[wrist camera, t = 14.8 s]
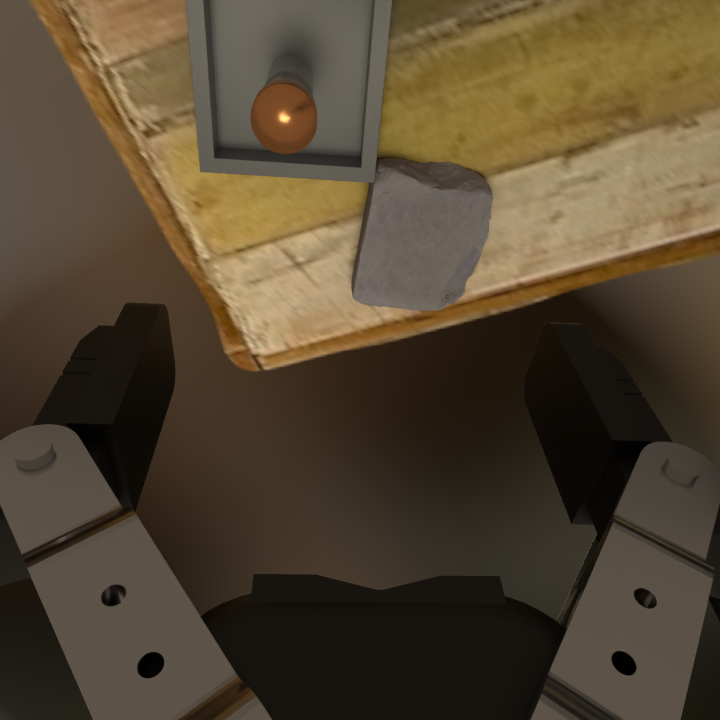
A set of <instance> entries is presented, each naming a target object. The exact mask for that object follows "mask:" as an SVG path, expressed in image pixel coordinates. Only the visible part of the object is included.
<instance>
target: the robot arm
mask: <svg viewBox="0 0 720 720" xmlns="http://www.w3.org/2000/svg"><path fill="white" fill-rule="evenodd" d="M70 358H71V360H70V361H68V363H67V365H66V366H65V368H64V370H63V375H62V376H60V377H59V379H58V381H57V383H56V384H55V386H54V388H53V390H52V391H51V394H50V395H49V397H48V399H47V400H46V403H45V404H44V406H43V408H42V409H41V411H40V413H39V415H38V417H37V418H36V420H35V422H34V424H33V425H32V426H31V427H28V428H24V429H21V430H19V431H17V432H14V433H13V434H11V435H9V436H7V437H6V438H4V439H3V440H1V441H0V586H1V585H4V584H8V583H11V582H16V581H19V580H23V579H26V578H30V577H31V578H32V580H33V583H34V585H35V587H36V589H37V592H38V594H39V596H40V599H41V601H42V603H43V605H44V608H45V610H46V612H47V615H48V617H49V619H50V622H51V624H52V626H53V628H54V631H55V633H56V635H57V637H58V640H59V642H60V645H61V646H62V649H63V651H64V653H65V656H66V658H67V661H68V663H69V665H70V667H71V670H72V672H73V674H74V676H75V679H76V681H77V683H78V686H79V688H80V690H81V693H82V695H83V697H84V700H85V702H86V704H87V706H88V709H89V711H90V713H91V716H92V717H93V720H680V719H681V715H682V710H683V706H684V702H685V697H686V693H687V689H688V685H689V681H690V676H691V672H692V668H693V663H694V659H695V655H696V650H697V646H698V642H699V638H700V633H701V629H702V625H703V620H704V616H705V611H706V607H707V603H708V599H709V601H710V603H711V605H712V607H713V609H714V611H715V613H716V615H717V617H718V619H719V622H720V473H719V471H718V470H717V469H716V467H715V466H714V465H713V464H712V463H711V462H710V461H709V460H708V459H706V458H705V457H704V456H702V455H701V454H699V453H698V452H696V451H694V450H692V449H690V448H688V447H685V446H683V445H680V444H676V443H673V442H672V440H671V439H670V437H669V436H668V434H667V433H666V431H665V429H664V428H663V426H662V425H661V423H660V421H659V420H658V418H657V417H656V415H655V413H654V412H653V411H652V409H651V407H650V405H649V404H648V402H647V401H646V399H645V397H642V393H641V391H640V390H639V388H638V386H637V385H636V383H633V378H632V377H631V375H630V374H629V372H628V370H627V369H626V367H625V366H624V364H623V363H622V362H621V361H620V360H619V359H617V358H616V357H615V356H614V355H612V354H611V353H610V352H609V351H608V350H606V349H605V348H600V347H599V348H598V347H596V345H595V343H594V342H593V340H592V338H591V337H590V335H589V333H588V332H587V330H586V328H585V327H584V326H583V325H582V324H572V323H550V322H549V323H548V322H547V323H545V324H544V325H543V327H542V329H541V331H540V334H539V337H538V340H537V343H536V346H535V349H534V352H533V355H532V358H531V361H530V364H529V367H528V370H527V373H526V377H525V381H524V400H525V405H526V407H527V410H528V412H529V415H530V418H531V420H532V423H533V426H534V428H535V430H536V433H537V436H538V438H539V441H540V444H541V446H542V449H543V451H544V454H545V456H546V459H547V462H548V464H549V467H550V470H551V472H552V475H553V477H554V480H555V482H556V485H557V488H558V490H559V493H560V496H561V498H562V501H563V503H564V506H565V508H566V511H567V514H568V516H569V519H570V521H571V524H594V526H595V529H596V531H597V535H596V537H595V539H594V541H593V542H592V544H591V546H590V549H589V551H588V553H587V556H586V558H585V560H584V562H583V564H582V567H581V569H580V571H579V573H578V575H577V578H576V580H575V582H574V584H573V586H572V589H571V591H570V593H569V596H568V598H567V600H566V602H565V604H564V606H563V609H562V611H561V613H560V615H559V617H558V619H557V621H555V620H554V619H553V618H551V617H550V616H548V615H546V614H545V613H543V612H542V611H540V610H538V609H536V608H534V607H532V606H530V605H528V604H526V603H524V602H521V601H518V600H515V599H513V598H510V597H506V596H504V592H503V589H502V584H501V580H500V577H499V576H438V577H434V578H430V579H426V580H422V581H418V582H414V583H409V584H405V585H401V586H397V587H393V588H389V589H385V590H375V589H371V588H367V587H362V586H359V585H355V584H351V583H347V582H342V581H339V580H335V579H331V578H327V577H323V576H319V575H289V574H287V575H286V574H284V575H283V574H280V575H279V574H254V577H253V586H252V593H251V594H247V595H244V596H240V597H237V598H235V599H232V600H229V601H227V602H224V603H222V604H220V605H218V606H216V607H214V608H212V609H210V610H209V611H207V612H206V613H204V614H203V615H201V616H200V615H199V614H198V612H197V611H196V609H195V607H194V606H193V604H192V603H191V601H190V600H189V598H188V596H187V595H186V593H185V592H184V590H183V588H182V587H181V585H180V584H179V582H178V580H177V579H176V577H175V576H174V574H173V572H172V571H171V569H170V568H169V566H168V565H167V563H166V561H165V560H164V558H163V557H162V555H161V553H160V552H159V550H158V549H157V547H156V546H155V544H154V542H153V541H152V539H151V538H150V536H149V534H148V533H147V531H146V530H145V528H144V526H143V525H142V523H141V522H140V520H139V518H138V517H137V515H136V514H135V512H136V509H137V506H138V502H139V499H140V496H141V493H142V490H143V486H144V483H145V480H146V477H147V474H148V470H149V467H150V464H151V461H152V458H153V455H154V452H155V448H156V445H157V442H158V439H159V436H160V432H161V429H162V426H163V422H164V420H165V416H166V413H167V410H168V407H169V403H170V400H171V397H172V394H173V390H174V384H175V359H174V352H173V345H172V337H171V331H170V323H169V316H168V311H167V308H166V306H165V305H164V304H150V303H149V304H148V303H126V304H125V305H124V307H123V309H122V311H121V313H120V315H119V317H118V319H117V321H116V323H115V325H114V326H100V325H99V326H98V327H97V328H95V329H94V330H93V331H91V332H90V333H89V334H88V335H86V336H85V337H84V338H82V339H81V340H80V342H79V343H78V345H77V347H76V349H75V350H74V352H73V354H72V356H71V357H70Z"/></svg>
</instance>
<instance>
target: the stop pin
mask: <svg viewBox="0 0 720 720" xmlns="http://www.w3.org/2000/svg"><path fill="white" fill-rule="evenodd" d="M313 86H314V78H313V73H312V70H311V68H310V66H309V65H308V64H307V63H306V62H305V61H304V60H303V59H302V58H300V57H298V56H294V55H285V56H282V57H280V58H278V59H277V60H276V61H275V62H274V63H273V64H272V66H271V68H270V70H269V73H268V77H267V80H266V83H265V86H264V87H262V88H261V90H260V91H259V92H258V93H257V95H256V97H255V99H254V102H253V105H252V108H251V114H250V120H251V126H252V130H253V132H254V134H255V136H256V138H257V139H258V140H259V142H260V143H261V144H262V145H263V146H265V147H266V148H267V149H269V150H271V151H273V152H276V153H280V154H292V153H296V152H298V151H301V150H302V149H304V148H305V147H306V146H307V145H308V144H309V143H310V142H311V141H312V139H313V137H314V135H315V133H316V129H317V108H316V104H315V101H314V99H313Z"/></svg>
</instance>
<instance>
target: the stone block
mask: <svg viewBox="0 0 720 720" xmlns="http://www.w3.org/2000/svg"><path fill="white" fill-rule="evenodd" d="M492 201H493V196H492V191H491V189H490V186H489V185H488V184H487V182H486V181H485V180H484V179H483V178H482V177H481V176H480V175H479V174H478V172H475V171H473V170H471V169H467V168H464V167H462V166H460V165H458V164H454V163H451V162H446V163H445V162H442V163H434V162H428V163H417V162H413V161H408V160H405V159H394V158H382V159H378V160H376V169H375V179H374V183H370V184H369V190H368V195H367V201H366V206H365V212H364V217H363V222H362V228H361V233H360V239H359V245H358V250H357V256H356V260H355V266H354V271H353V276H352V287H351V289H352V294H353V298H354V299H355V300H356V301H358V302H360V303H362V304H365V305H369V306H370V305H374V306H379V307H380V306H386V307H394V308H402V309H409V310H419V311H423V310H428V311H432V310H441V309H443V308H444V307H445V306H446V305H447V304H453V303H455V302H456V301H457V300H458V299H459V298H460V297H461V296H463V294H464V292H465V285H466V281H467V279H468V278H469V277H470V276H471V275H472V273H473V271H474V269H475V267H476V265H477V263H478V261H479V258H480V256H481V253H482V248H483V246H484V244H485V242H486V239H487V236H488V232H489V219H490V218H491V215H490V212H491V206H492Z"/></svg>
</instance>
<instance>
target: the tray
mask: <svg viewBox="0 0 720 720" xmlns="http://www.w3.org/2000/svg"><path fill="white" fill-rule="evenodd" d="M391 7H392V0H186V10H187V22H188V33H189V45H190V57H191V68H192V80H193V92H194V103H195V115H196V127H197V138H198V150H199V162H200V172H211V173H227V174H243V175H259V176H274V177H290V178H306V179H322V180H337V181H353V182H369V183H374V179H375V169H376V159H377V149H378V139H379V129H380V118H381V108H382V98H383V88H384V78H385V68H386V58H387V48H388V37H389V27H390V17H391ZM285 55H294V56H298V57H300V58H302V59H303V60H304V61H305V62H306V63H307V64H308V65H309V66H310V68H311V70H312V73H313V78H314V86H313V99H314V101H315V104H316V108H317V129H316V133H315V135H314V137H313V139H312V141H311V142H310V143H309V144H308V145H307V146H306V147H305V148H304V149H302V150H301V151H298V152H296V153H292V154H280V153H276V152H273V151H271V150H269V149H267V148H266V147H265V146H263V145H262V144H261V143H260V142H259V140H258V139H257V138H256V136H255V134H254V132H253V130H252V126H251V120H250V114H251V108H252V105H253V102H254V99H255V97H256V95H257V93H258V92H259V91H260V90H261V88H262V87H264V86H265V83H266V80H267V77H268V73H269V70H270V68H271V66H272V64H273V63H274V62H275V61H276V60H277V59H278V58H280V57H282V56H285Z"/></svg>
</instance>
